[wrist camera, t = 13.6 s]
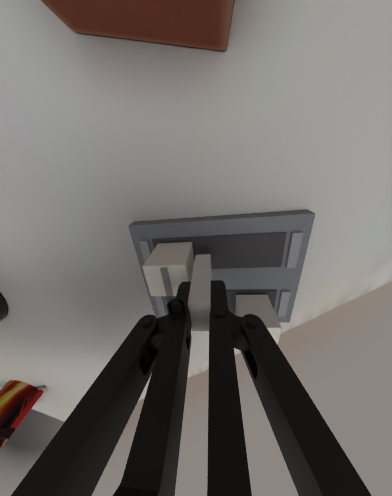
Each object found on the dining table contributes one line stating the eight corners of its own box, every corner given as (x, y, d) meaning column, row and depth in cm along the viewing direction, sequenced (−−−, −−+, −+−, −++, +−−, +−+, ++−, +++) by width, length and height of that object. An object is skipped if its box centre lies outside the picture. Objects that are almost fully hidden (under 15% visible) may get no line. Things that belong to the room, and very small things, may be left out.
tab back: (235, 314, 23) (240, 349, 18) (235, 294, 21) (241, 328, 17) (264, 314, 22) (277, 351, 18) (267, 294, 21) (282, 329, 16)
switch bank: (159, 312, 27) (155, 323, 25) (134, 221, 20) (126, 227, 18) (285, 313, 25) (290, 325, 23) (307, 209, 18) (318, 214, 16)
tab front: (163, 269, 20) (150, 297, 16) (158, 243, 19) (141, 267, 14) (195, 268, 20) (189, 297, 16) (191, 241, 18) (185, 266, 14)
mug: (48, 385, 45) (-3, 453, 35) (37, 399, 51) (-9, 461, 40) (13, 371, 43) (-53, 438, 33) (5, 387, 49) (-52, 449, 38)
